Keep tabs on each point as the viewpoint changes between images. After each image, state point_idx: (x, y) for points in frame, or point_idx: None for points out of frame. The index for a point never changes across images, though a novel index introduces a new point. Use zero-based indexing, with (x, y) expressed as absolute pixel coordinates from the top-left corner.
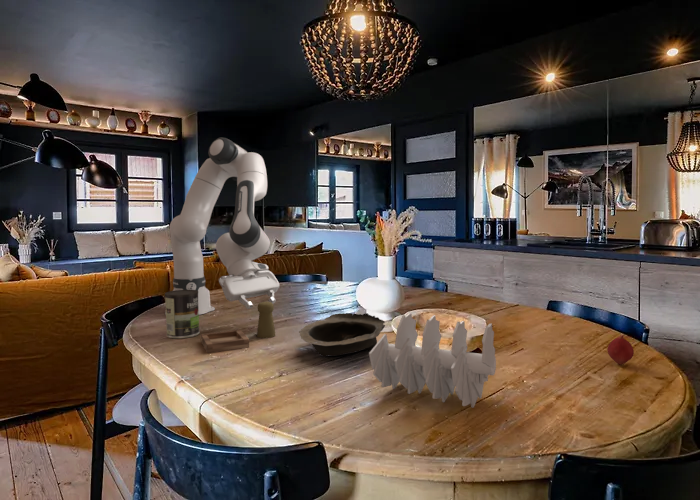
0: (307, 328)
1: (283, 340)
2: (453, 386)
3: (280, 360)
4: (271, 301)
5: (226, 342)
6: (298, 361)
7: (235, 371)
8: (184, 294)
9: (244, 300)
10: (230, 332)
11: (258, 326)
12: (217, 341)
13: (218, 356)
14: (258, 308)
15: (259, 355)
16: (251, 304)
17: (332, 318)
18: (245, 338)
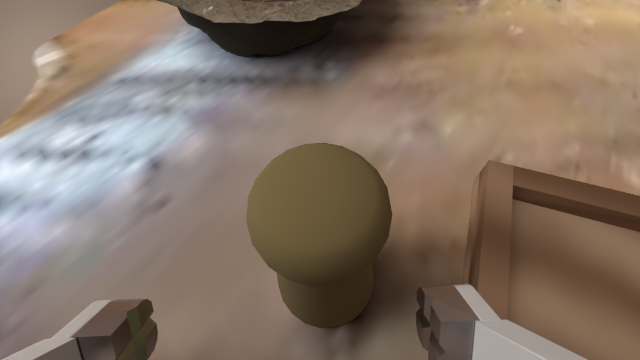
0: (312, 7)
1: None
2: None
3: (438, 43)
4: (145, 319)
5: (600, 188)
6: (404, 21)
7: (577, 48)
8: None
9: (547, 341)
10: None
11: (372, 270)
12: (625, 314)
13: (617, 168)
14: (391, 214)
15: (473, 97)
16: (436, 289)
17: (178, 1)
18: (501, 176)
